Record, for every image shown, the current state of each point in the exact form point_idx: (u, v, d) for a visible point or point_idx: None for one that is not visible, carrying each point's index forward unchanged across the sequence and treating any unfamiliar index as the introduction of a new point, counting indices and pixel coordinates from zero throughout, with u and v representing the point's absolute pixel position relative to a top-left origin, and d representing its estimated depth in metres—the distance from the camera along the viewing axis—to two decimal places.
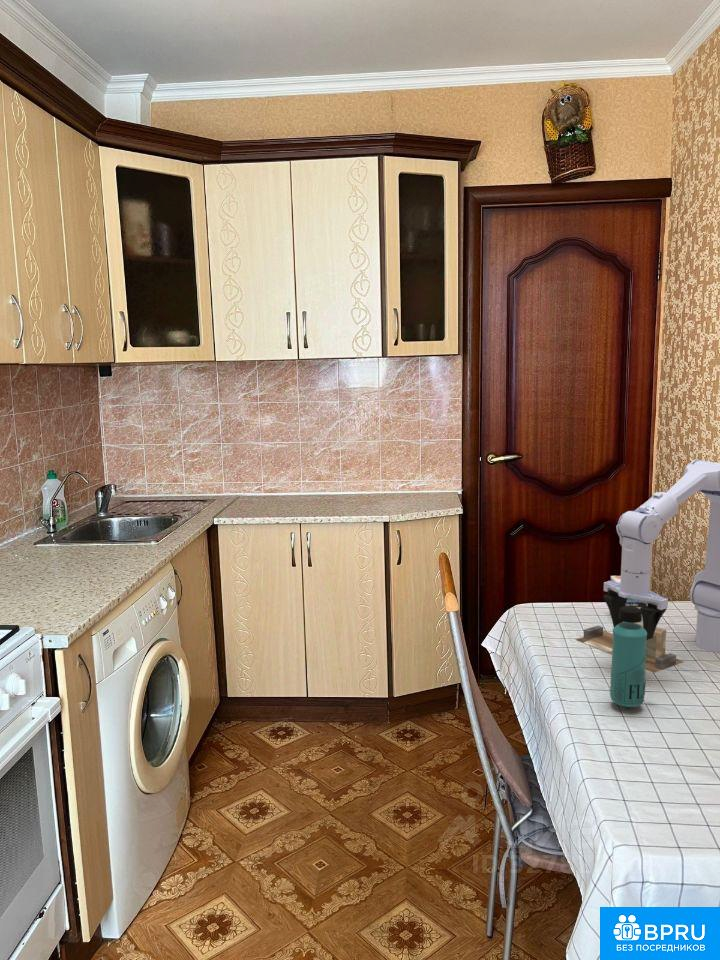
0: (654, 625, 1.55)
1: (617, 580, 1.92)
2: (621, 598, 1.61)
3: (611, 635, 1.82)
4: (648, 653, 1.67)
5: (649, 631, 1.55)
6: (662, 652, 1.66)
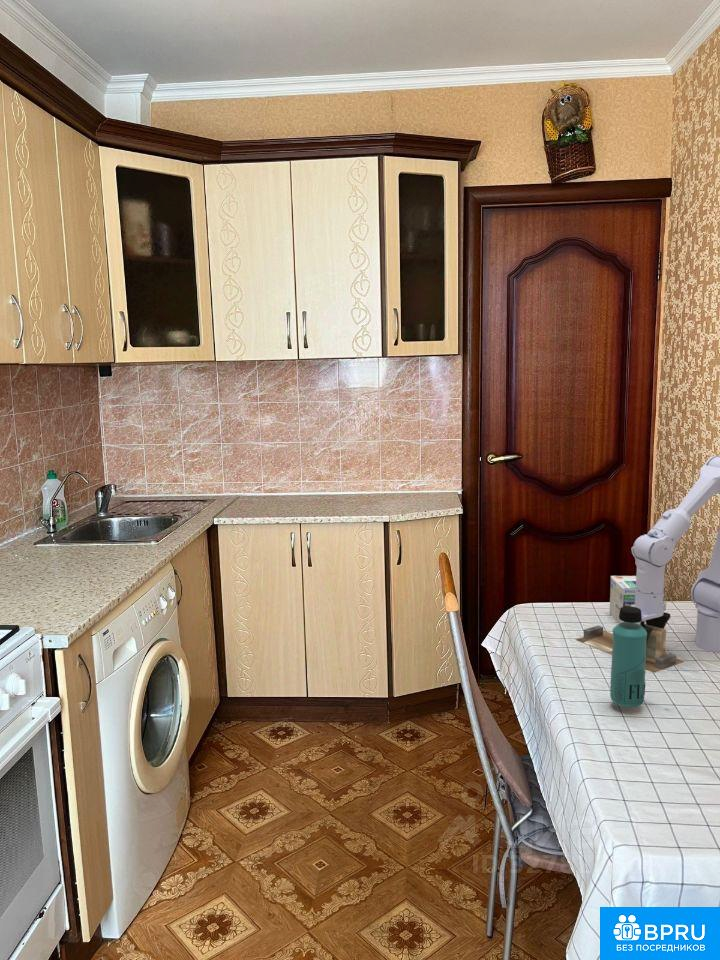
0: None
1: (617, 580, 1.92)
2: (657, 618, 1.70)
3: (611, 635, 1.82)
4: (648, 653, 1.67)
5: None
6: (662, 652, 1.66)
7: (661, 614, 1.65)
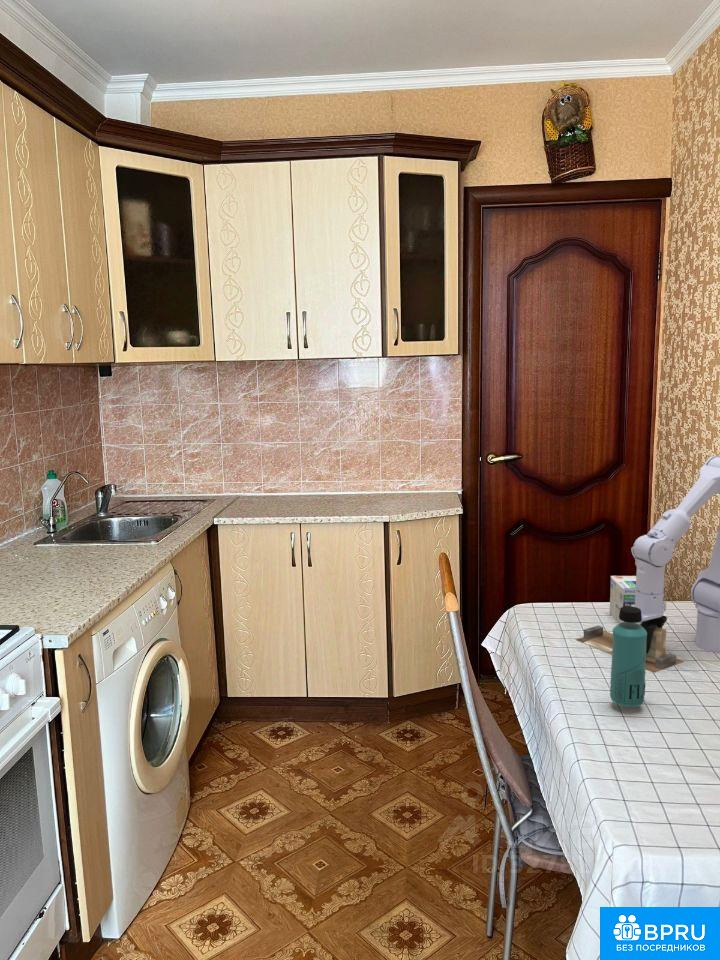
0: (646, 641, 1.66)
1: (617, 580, 1.92)
2: (653, 620, 1.68)
3: (611, 635, 1.82)
4: (648, 653, 1.67)
5: None
6: (662, 652, 1.66)
7: (661, 614, 1.65)
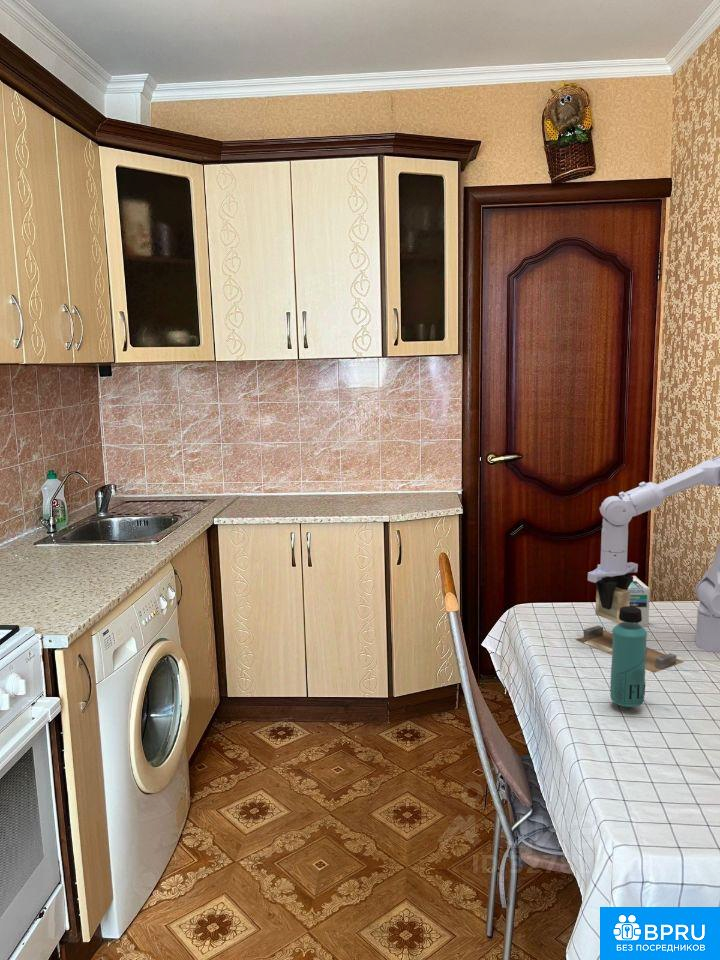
0: (608, 598, 1.73)
1: None
2: (619, 579, 1.75)
3: (611, 635, 1.82)
4: (611, 613, 1.74)
5: (603, 600, 1.75)
6: None
7: (622, 573, 1.72)
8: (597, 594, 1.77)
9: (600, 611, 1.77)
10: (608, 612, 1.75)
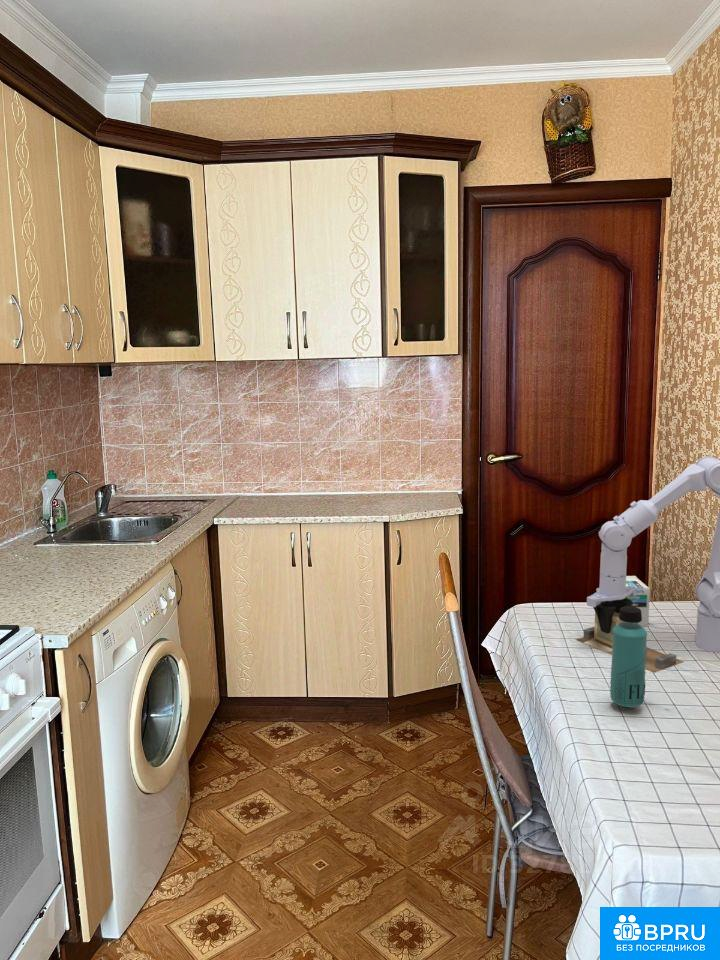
0: (607, 622, 1.74)
1: None
2: (618, 603, 1.76)
3: None
4: (609, 637, 1.75)
5: (602, 624, 1.76)
6: None
7: (621, 597, 1.73)
8: (596, 619, 1.78)
9: (599, 636, 1.78)
10: (606, 637, 1.76)
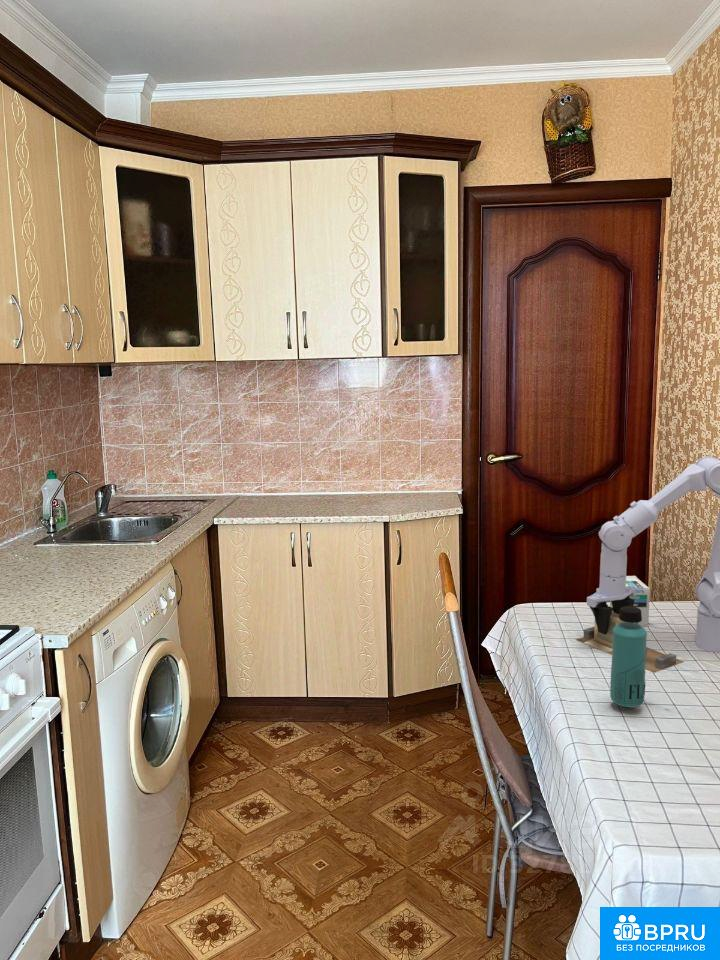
0: (604, 623, 1.74)
1: None
2: (621, 603, 1.77)
3: None
4: (609, 638, 1.75)
5: (600, 625, 1.75)
6: None
7: (621, 597, 1.73)
8: (595, 620, 1.78)
9: (599, 637, 1.78)
10: (606, 638, 1.76)
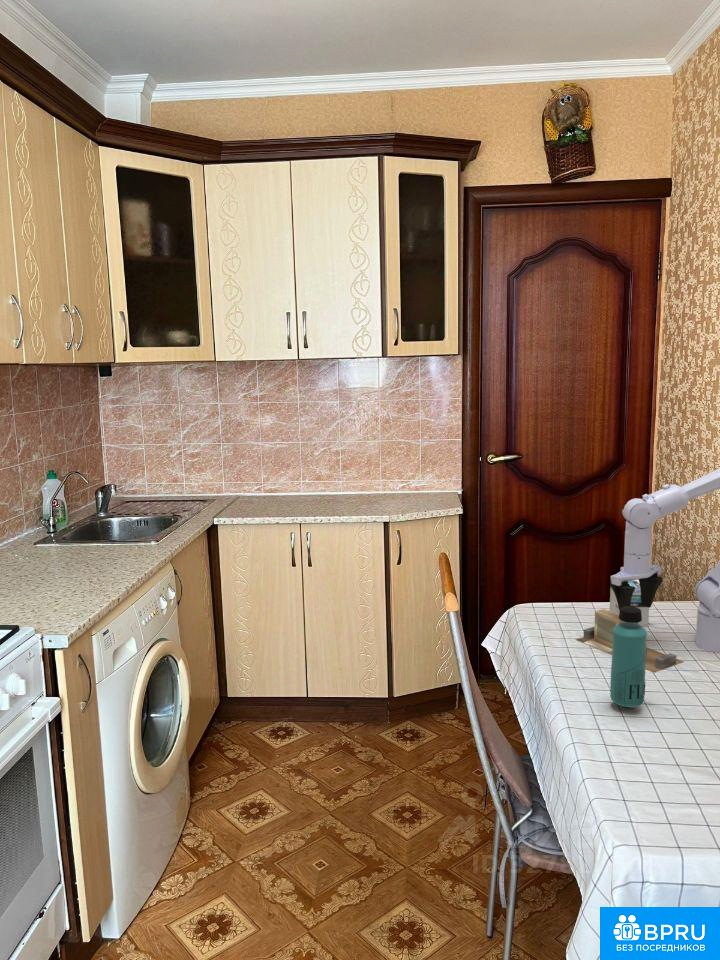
0: (626, 602, 1.71)
1: None
2: (649, 580, 1.75)
3: None
4: (609, 638, 1.75)
5: (621, 605, 1.72)
6: None
7: (646, 575, 1.70)
8: (595, 620, 1.78)
9: (599, 637, 1.78)
10: (606, 638, 1.76)
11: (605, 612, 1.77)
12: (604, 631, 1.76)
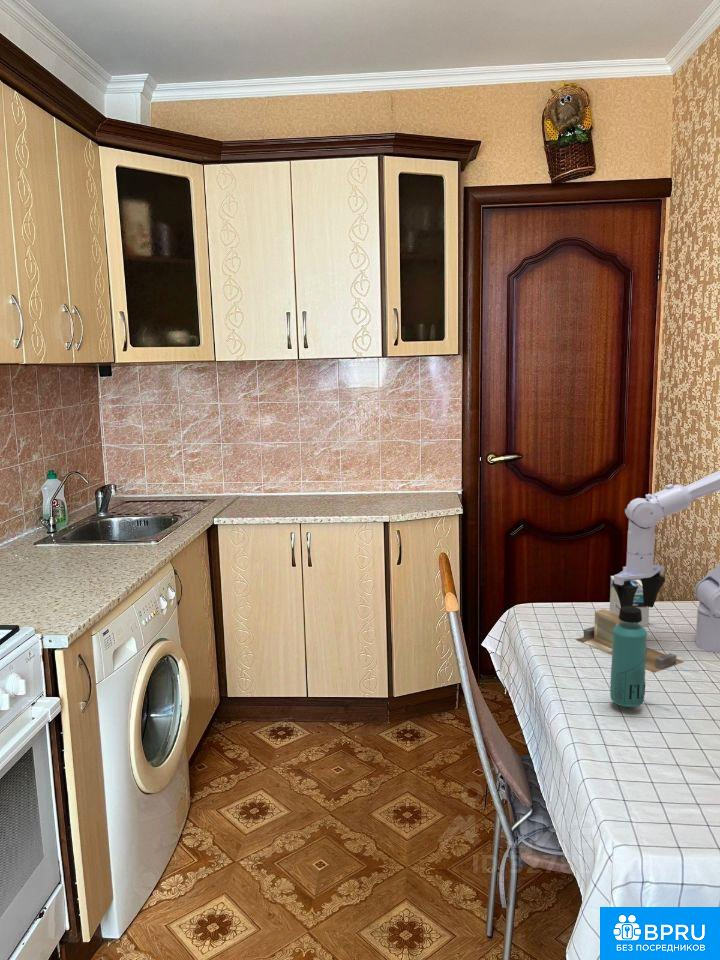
0: (628, 602, 1.71)
1: None
2: (651, 580, 1.75)
3: None
4: (609, 638, 1.75)
5: (623, 605, 1.72)
6: None
7: (649, 575, 1.70)
8: (595, 620, 1.78)
9: (599, 637, 1.78)
10: (606, 638, 1.76)
11: (605, 612, 1.77)
12: (604, 631, 1.76)
